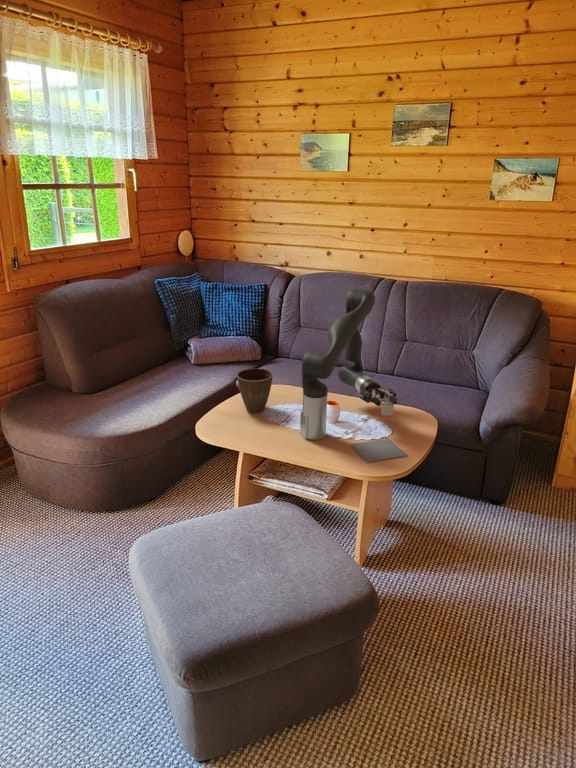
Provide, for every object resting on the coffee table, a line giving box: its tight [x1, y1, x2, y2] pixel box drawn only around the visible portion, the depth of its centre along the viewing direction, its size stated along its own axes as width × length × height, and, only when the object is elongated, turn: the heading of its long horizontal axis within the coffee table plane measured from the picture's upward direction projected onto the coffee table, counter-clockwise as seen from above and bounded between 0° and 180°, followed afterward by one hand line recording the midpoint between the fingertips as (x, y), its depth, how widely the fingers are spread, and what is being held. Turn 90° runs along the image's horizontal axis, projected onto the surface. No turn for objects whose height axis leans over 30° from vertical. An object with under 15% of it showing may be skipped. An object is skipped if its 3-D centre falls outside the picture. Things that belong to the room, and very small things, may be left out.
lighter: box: [376, 394, 395, 416], centre depth 213 cm, size 7×2×8 cm, turn 89°
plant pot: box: [236, 367, 274, 414], centre depth 234 cm, size 15×15×16 cm
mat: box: [349, 437, 408, 464], centre depth 204 cm, size 16×14×1 cm
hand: (387, 402), depth 209 cm, fingers closed on lighter, 6 cm apart
